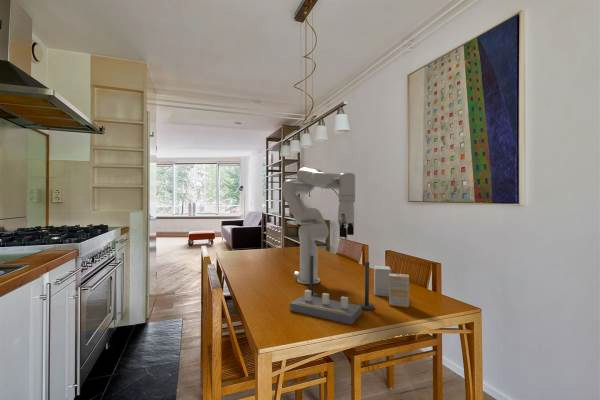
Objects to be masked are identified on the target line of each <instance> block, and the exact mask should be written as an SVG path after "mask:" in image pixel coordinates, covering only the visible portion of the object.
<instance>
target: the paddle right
mask: <svg viewBox="0 0 600 400" xmlns="http://www.w3.org/2000/svg"><path fill="white" fill-rule="evenodd" d="M340 302H341V308H344V309H347V308H348V303H349V296H342V295H341V297H340Z"/></svg>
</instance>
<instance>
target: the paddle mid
mask: <svg viewBox="0 0 600 400" xmlns="http://www.w3.org/2000/svg"><path fill="white" fill-rule="evenodd" d="M321 298H322V304H325V305H328V304H329V300H330V293H326V292H323V293H322V294H321Z"/></svg>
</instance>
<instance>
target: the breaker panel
mask: <svg viewBox="0 0 600 400" xmlns="http://www.w3.org/2000/svg"><path fill="white" fill-rule="evenodd" d="M304 296H305V294H303V295H301V296H299V297H298V298H296V299H295V300H292V301H291V302H290V303H289V310H290V311H291V312H296V313H300V314H304V315H308V316H313V317H318V318H321V319H326V320H329V321H334V322H339V323H344V324H348V325H352V324H353V323H354V322H355V321H356V320H358V318H359V317H360V316H361V315H362V314H363V313H362V312H363V309H362V306H360V305H359V304H354V303H349V302H348V308H347V309H344V308H341V301H340V300H339V301H338V300H334V299H329V304H328V305H325V304H322V297H319V296H318V297H313V296H311V301H305V300H304Z"/></svg>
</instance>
